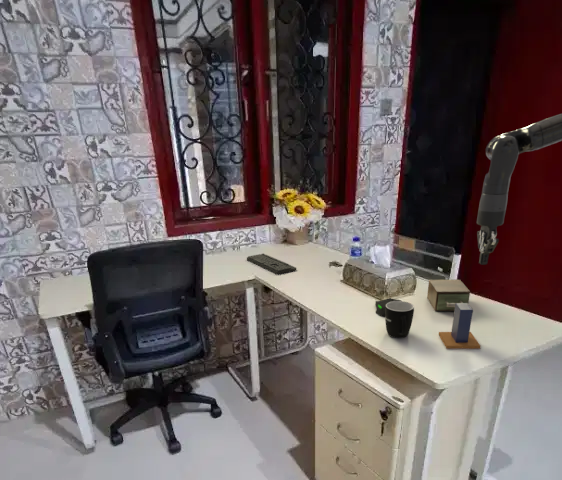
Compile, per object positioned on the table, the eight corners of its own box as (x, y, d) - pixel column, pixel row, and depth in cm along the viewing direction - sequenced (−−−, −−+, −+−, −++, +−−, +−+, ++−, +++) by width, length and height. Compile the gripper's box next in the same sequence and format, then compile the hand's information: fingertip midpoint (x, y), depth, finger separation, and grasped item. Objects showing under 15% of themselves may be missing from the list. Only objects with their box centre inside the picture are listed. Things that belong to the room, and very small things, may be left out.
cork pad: (470, 334, 135) (470, 331, 135) (480, 348, 126) (480, 345, 126) (438, 334, 137) (438, 331, 136) (446, 348, 128) (446, 345, 127)
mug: (381, 328, 143) (382, 301, 138) (407, 327, 142) (410, 300, 138) (389, 344, 132) (391, 315, 127) (417, 343, 132) (420, 314, 127)
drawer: (470, 314, 148) (472, 299, 145) (440, 314, 149) (442, 299, 146) (457, 297, 162) (459, 283, 160) (430, 298, 164) (431, 284, 161)
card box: (462, 334, 133) (467, 302, 128) (467, 342, 128) (473, 309, 123) (450, 334, 134) (455, 303, 129) (455, 342, 129) (460, 309, 124)
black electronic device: (380, 320, 149) (381, 309, 147) (369, 303, 164) (370, 294, 162) (412, 318, 149) (413, 307, 148) (398, 301, 164) (398, 292, 162)
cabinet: (467, 310, 153) (470, 291, 149) (434, 311, 154) (437, 291, 151) (457, 297, 165) (459, 279, 162) (426, 298, 166) (428, 279, 163)
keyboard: (296, 270, 209) (296, 266, 208) (277, 274, 204) (277, 270, 203) (264, 256, 237) (263, 252, 236) (246, 259, 232) (246, 256, 231)
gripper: (513, 211, 120) (502, 269, 127) (497, 204, 131) (488, 258, 139) (486, 212, 121) (477, 270, 128) (472, 205, 132) (464, 258, 140)
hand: (482, 263), depth 134 cm, fingers closed
